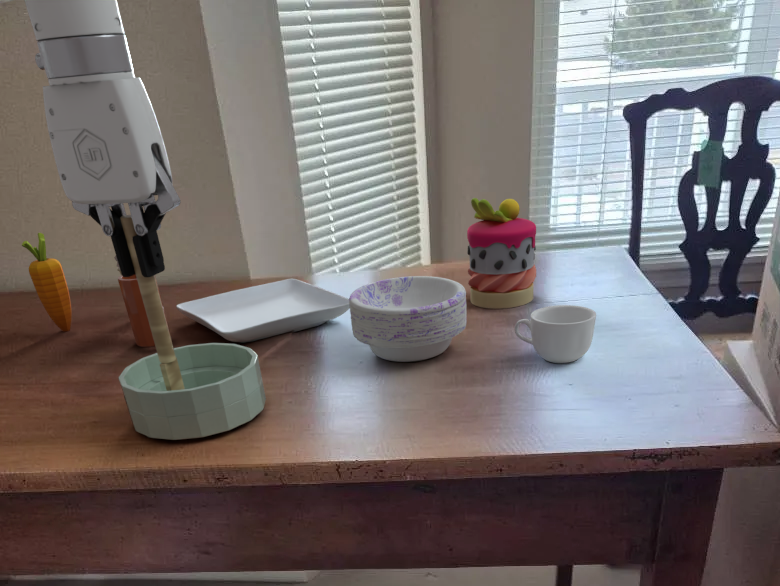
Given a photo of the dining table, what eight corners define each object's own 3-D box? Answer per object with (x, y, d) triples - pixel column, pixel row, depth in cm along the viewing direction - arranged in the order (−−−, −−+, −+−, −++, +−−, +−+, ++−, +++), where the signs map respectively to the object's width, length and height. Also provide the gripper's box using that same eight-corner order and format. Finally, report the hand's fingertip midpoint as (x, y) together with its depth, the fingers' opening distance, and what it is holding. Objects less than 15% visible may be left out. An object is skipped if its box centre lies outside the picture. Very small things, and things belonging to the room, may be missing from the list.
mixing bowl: (107, 438, 82) (90, 388, 79) (182, 386, 94) (170, 340, 90) (223, 449, 77) (211, 396, 74) (288, 393, 89) (279, 345, 86)
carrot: (57, 340, 115) (22, 239, 106) (46, 334, 118) (11, 236, 109) (88, 331, 117) (56, 232, 109) (76, 326, 120) (44, 229, 112)
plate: (295, 295, 126) (292, 274, 124) (359, 321, 111) (356, 298, 109) (177, 324, 117) (172, 303, 115) (229, 357, 102) (224, 333, 100)
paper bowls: (441, 376, 90) (438, 311, 85) (334, 365, 96) (326, 304, 91) (483, 335, 101) (482, 276, 97) (385, 328, 107) (380, 272, 102)
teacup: (599, 348, 93) (602, 306, 90) (585, 370, 88) (588, 326, 85) (523, 343, 97) (523, 302, 94) (505, 364, 92) (505, 321, 89)
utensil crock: (130, 349, 108) (110, 280, 103) (150, 337, 112) (132, 270, 106) (159, 350, 107) (140, 280, 101) (178, 339, 110) (161, 270, 105)
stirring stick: (180, 407, 83) (129, 218, 72) (166, 406, 83) (114, 218, 72) (191, 398, 85) (143, 213, 73) (178, 397, 85) (129, 213, 74)
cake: (501, 286, 121) (501, 186, 112) (549, 296, 114) (553, 191, 105) (454, 301, 116) (450, 198, 107) (502, 313, 109) (501, 204, 100)
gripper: (-12, 72, 65) (59, 283, 75) (135, 57, 60) (189, 284, 71) (47, 68, 71) (105, 264, 81) (185, 54, 66) (228, 265, 76)
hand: (144, 272), depth 76 cm, fingers closed on stirring stick, 1 cm apart
